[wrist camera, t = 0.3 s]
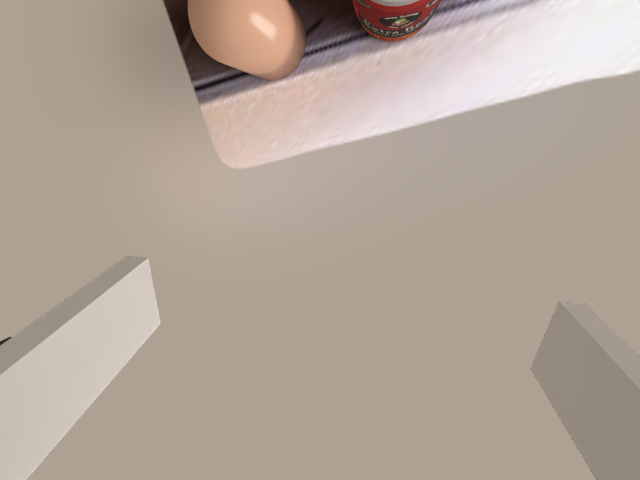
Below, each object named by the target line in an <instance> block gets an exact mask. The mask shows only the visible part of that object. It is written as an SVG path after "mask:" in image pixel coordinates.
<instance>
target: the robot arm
mask: <svg viewBox="0 0 640 480" xmlns="http://www.w3.org/2000/svg"><path fill="white" fill-rule="evenodd" d="M159 325H160V318H159V312H158V307H157V302H156V296H155V291H154V286H153V281H152V275H151V270H150V265H149V260H148V258H143V257H134V256H126V257H124V258H123V259H122V260H120V261H119V262H117V263H116V264H114V266H112V267H110V268H109V269H107V270H106V271H105V272H103V273H102V274H100V275H99V276H98V277H96V278H95V279H93V280H92V281H91V282H89V283H88V284H86V285H85V286H84V287H82V288H81V289H79V290H78V291H76V292H75V293H74V294H72V295H71V296H69V297H68V298H67V299H65V300H64V301H62V302H61V303H60V304H58V305H57V306H55V307H54V308H53V309H51V310H50V311H49V312H47V313H46V314H44V315H43V316H41V317H40V318H39V319H37V320H36V321H34V322H33V323H31V324H30V325H29V326H27V327H26V328H24V329H23V330H22V331H20V332H19V333H17V334H16V335H15V336H13V337H9V338H7V339H5V340H2V341H0V480H27V478H28V477H29V476H30V475H31V474H32V472H33V471H34V470H35V469H36V468H37V467H38V466H39V464H40V463H41V462H42V461H43V460H44V459H45V457H46V456H47V455H48V454H49V453H50V451H51V450H52V449H53V448H54V447H55V446H56V445H57V443H58V442H59V441H60V440H61V439H62V438H63V436H64V435H65V434H66V433H67V432H68V431H69V429H70V428H71V427H72V426H73V425H74V424H75V423H76V421H77V420H78V419H79V418H80V417H81V416H82V414H83V413H84V412H85V411H86V410H87V409H88V407H89V406H90V405H91V404H92V403H93V402H94V400H95V399H96V398H97V397H98V396H99V395H100V393H101V392H102V391H103V390H104V389H105V388H106V386H107V385H108V384H109V383H110V382H111V381H112V380H113V378H114V377H115V376H116V375H117V374H118V373H119V371H120V370H121V369H122V368H123V367H124V365H125V364H126V363H127V362H128V361H129V360H130V359H131V357H132V356H133V355H134V354H135V353H136V352H137V350H138V349H139V348H140V347H141V346H142V345H143V343H144V342H145V341H146V340H147V338H148V337H149V336H150V335H151V334H152V333H153V332H154V331H155V329H156V328H157V327H158V326H159ZM531 371H532V372H533V374H534V375H535V377H536V379H537V381H538V382H539V384H540V385H541V387H542V389H543V391H544V392H545V394H546V396H547V398H548V399H549V401H550V403H551V404H552V406H553V408H554V409H555V411H556V413H557V414H558V416H559V418H560V419H561V421H562V423H563V425H564V426H565V428H566V430H567V431H568V433H569V435H570V436H571V438H572V440H573V441H574V443H575V445H576V446H577V448H578V450H579V452H580V453H581V455H582V457H583V458H584V460H585V462H586V463H587V465H588V467H589V468H590V470H591V472H592V473H593V475H594V477H595V478H596V480H640V356H639V355H638V354H637V353H636V352H635V351H634V350H633V349H632V348H631V347H630V346H629V345H628V344H627V343H626V342H625V341H624V340H623V339H622V338H620V336H619V335H618V334H617V333H616V332H615V331H613V330H612V329H611V328H610V327H609V326H608V325H607V324H606V323H605V322H604V321H603V320H602V319H601V318H600V317H599V316H598V315H597V314H596V313H595V312H594V311H593V310H592V309H591V308H590V307H589V306H588V305H587V304H584V303H574V302H565V301H559V302H558V305H557V307H556V309H555V312H554V314H553V316H552V319H551V321H550V324H549V326H548V328H547V331H546V333H545V335H544V338H543V340H542V342H541V345H540V347H539V350H538V352H537V354H536V357H535V359H534V361H533V364H532V366H531Z"/></svg>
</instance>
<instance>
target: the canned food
mask: <svg viewBox="0 0 640 480" xmlns="http://www.w3.org/2000/svg"><path fill="white" fill-rule="evenodd" d="M352 1H353V4H354V8H355V12H356V15H357V17H358V20H359V21H360V23H361V25H362V26H363V28H364V29H365V30H366V31H367V32H368V33H369V34H371V35H372V36H374V37H376V38H378V39H381V40H384V41H399V40H403V39H406V38H408V37H411V36H412V35H414V34H415V33H417V32H418V31H420V30H421V29H422V28H423V27H424V26H425V25H426V24H427V23H428V21H429V20H430V19H431V18H432V16H433V14H434V12H435V11H436V9H437V7H438V5H439V3H440V1H441V0H352Z"/></svg>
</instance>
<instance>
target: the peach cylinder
mask: <svg viewBox="0 0 640 480" xmlns="http://www.w3.org/2000/svg"><path fill="white" fill-rule="evenodd" d="M188 16H189V22H190V26H191V29H192V32H193V34H194V36H195V38H196V40H197V42H198V43H199V45H200V46H201V48H202V49H203V50H204V51H205V52H206V53H207V54H208V55H209V56H210V57H212V58H213V59H215V60H217V61H219V62H221V63H223V64H226V65H228V66H231V67H233V68H236V69H239V70H241V71H244V72H246V73H249V74H251V75H254V76H256V77H259V78H262V79H265V80H279V79H283V78H285V77H287V76H288V75H290V74H291V73H292V72H294V70H295V69H296V68H297V67H298V66H299V64H300V62H301V60H302V58H303V56H304V52H305V48H306V33H305V28H304V25H303V22H302V20H301V18H300V16H299V14H298V13H297V12H296V10H295V9H294V8H293V6H292V5H291V4H290V2H289V1H288V0H188Z"/></svg>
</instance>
